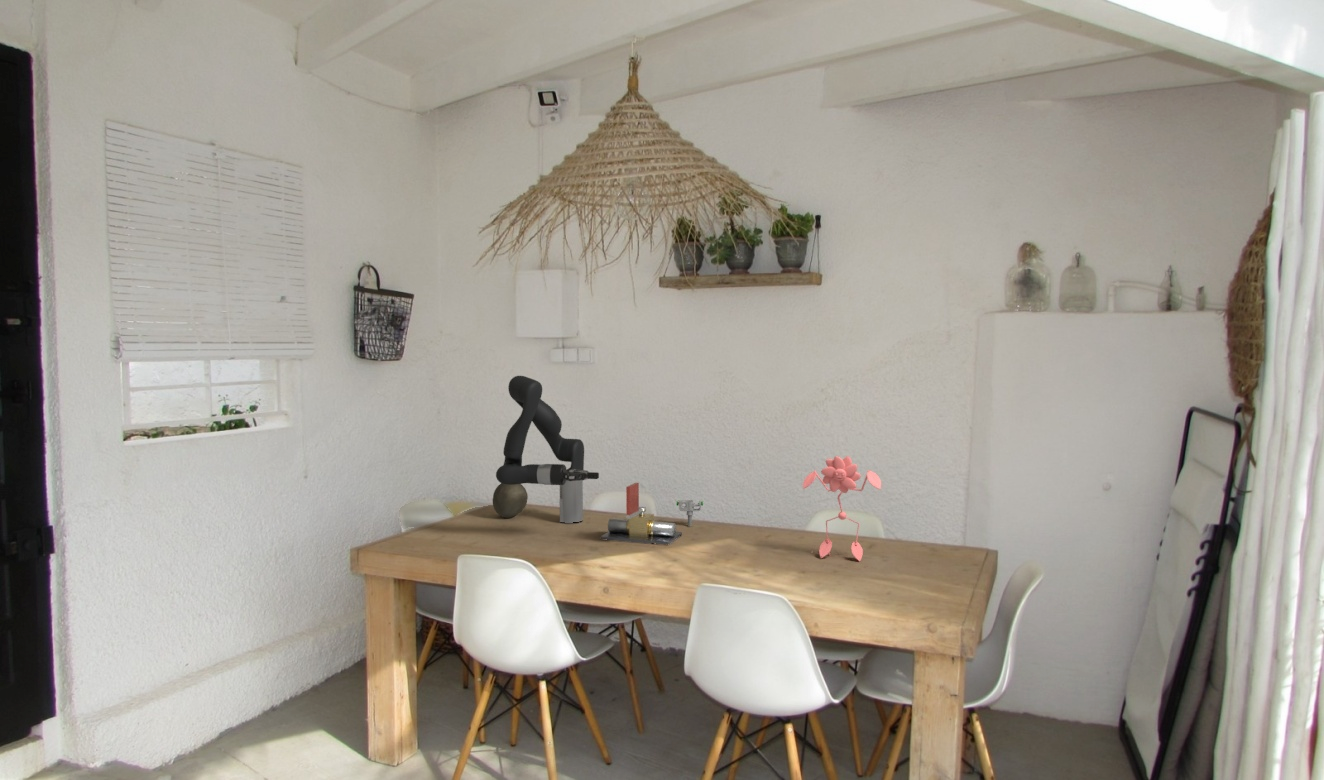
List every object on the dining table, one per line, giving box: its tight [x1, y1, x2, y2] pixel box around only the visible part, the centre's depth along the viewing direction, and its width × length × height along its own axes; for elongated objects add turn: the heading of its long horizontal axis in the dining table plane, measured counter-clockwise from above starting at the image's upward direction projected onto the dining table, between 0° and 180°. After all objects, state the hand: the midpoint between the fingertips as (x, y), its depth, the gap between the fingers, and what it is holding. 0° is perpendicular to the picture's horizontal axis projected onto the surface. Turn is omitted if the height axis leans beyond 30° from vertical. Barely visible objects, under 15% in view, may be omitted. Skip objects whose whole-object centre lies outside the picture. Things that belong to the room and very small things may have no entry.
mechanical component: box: [676, 499, 704, 527], centre depth 324 cm, size 3×10×10 cm, turn 89°
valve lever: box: [625, 482, 647, 519], centre depth 299 cm, size 3×15×11 cm, turn 161°
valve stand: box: [600, 512, 683, 546], centre depth 306 cm, size 26×16×10 cm, turn 71°
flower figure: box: [802, 455, 882, 562], centre depth 271 cm, size 15×26×35 cm, turn 68°
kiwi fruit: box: [492, 483, 529, 519], centre depth 340 cm, size 14×14×15 cm
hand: (598, 475), depth 298 cm, fingers closed
